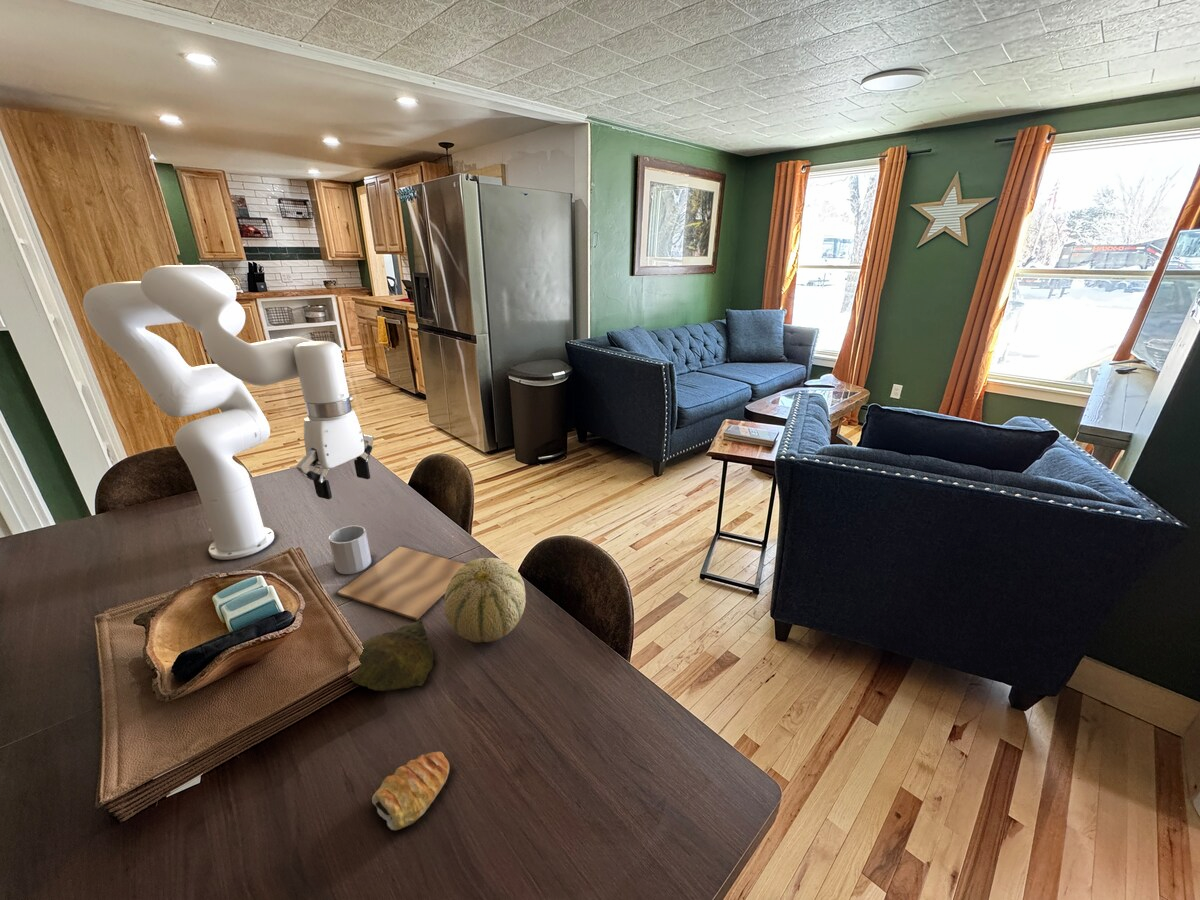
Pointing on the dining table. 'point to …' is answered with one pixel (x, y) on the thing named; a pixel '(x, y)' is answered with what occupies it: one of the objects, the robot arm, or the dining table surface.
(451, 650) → the dining table surface
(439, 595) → the board
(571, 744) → the dining table surface
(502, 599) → the cantaloupe
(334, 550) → the pot
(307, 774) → the dining table surface
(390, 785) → the pastry
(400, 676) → the pottery fragment
